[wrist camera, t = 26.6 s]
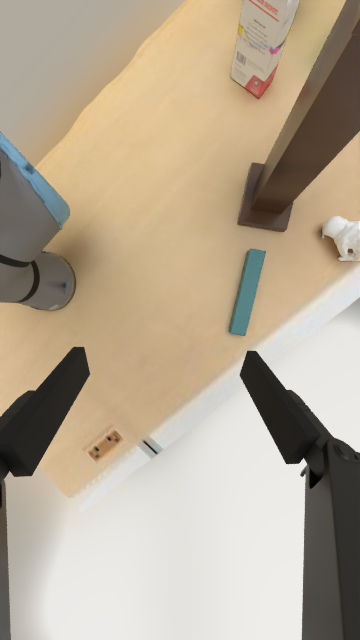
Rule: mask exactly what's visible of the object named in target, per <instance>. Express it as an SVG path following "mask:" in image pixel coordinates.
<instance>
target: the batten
mask: <svg viewBox="0 0 360 640" xmlns="http://www.w3.org/2000/svg"><path fill="white" fill-rule="evenodd" d="M265 253H266V251H261V250H256V249H250V250H249V251H248V252H247V255H246V259H245V263H244V267H243V272H242V276H241V280H240V285H239V289H238V293H237V297H236V302H235V306H234V310H233V315H232V319H231V323H230V327H229V332H230V333H233V334H238V335H243V336H245V335H246V331H247V327H248V323H249V319H250V315H251V310H252V306H253V302H254V298H255V294H256V290H257V286H258V282H259V278H260V273H261V269H262V265H263V261H264V257H265Z"/></svg>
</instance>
